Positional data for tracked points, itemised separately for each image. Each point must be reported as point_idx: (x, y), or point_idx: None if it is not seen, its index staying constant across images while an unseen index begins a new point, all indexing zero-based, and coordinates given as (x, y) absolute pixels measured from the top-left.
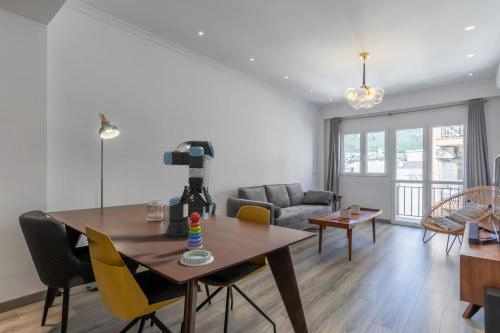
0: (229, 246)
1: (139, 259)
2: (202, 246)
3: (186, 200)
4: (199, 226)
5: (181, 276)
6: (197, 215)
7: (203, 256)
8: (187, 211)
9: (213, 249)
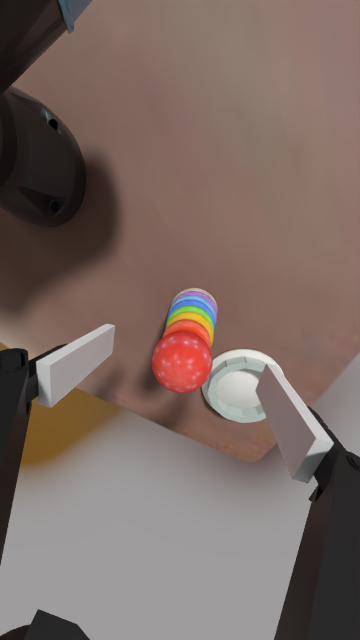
0: (299, 248)
1: (122, 407)
2: (217, 308)
3: (22, 439)
4: (210, 336)
5: (249, 455)
6: (205, 381)
7: (251, 370)
8: (97, 342)
9: (252, 299)
